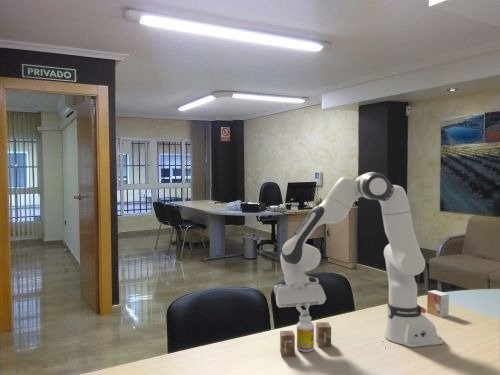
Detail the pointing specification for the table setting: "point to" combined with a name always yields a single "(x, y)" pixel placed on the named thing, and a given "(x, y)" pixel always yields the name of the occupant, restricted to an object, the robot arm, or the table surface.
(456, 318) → the table surface
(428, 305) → the small box
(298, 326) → the supplement bottle
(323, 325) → the walnut block one
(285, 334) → the walnut block seven
